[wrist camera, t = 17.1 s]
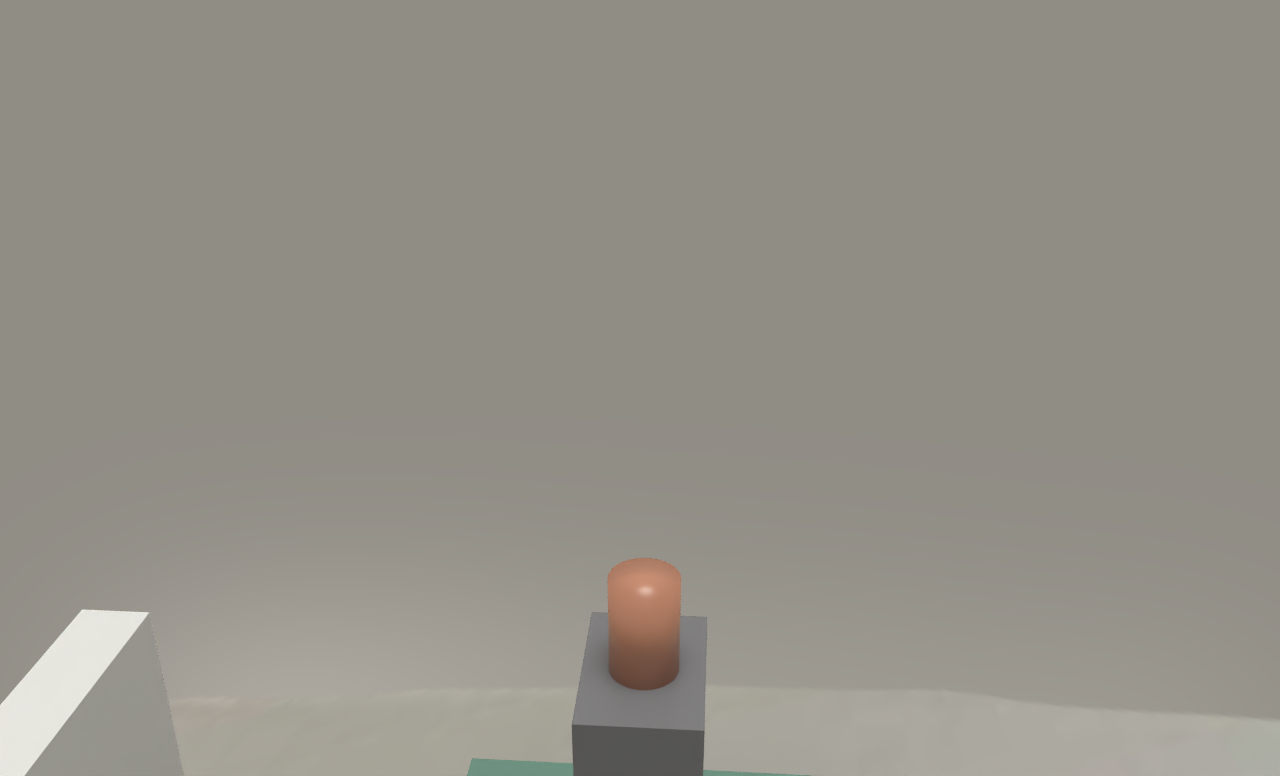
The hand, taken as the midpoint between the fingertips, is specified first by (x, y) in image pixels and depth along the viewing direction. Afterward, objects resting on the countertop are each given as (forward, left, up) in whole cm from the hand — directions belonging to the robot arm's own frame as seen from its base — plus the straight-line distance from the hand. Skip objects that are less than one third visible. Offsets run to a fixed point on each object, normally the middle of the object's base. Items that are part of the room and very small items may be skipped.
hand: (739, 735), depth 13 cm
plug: (-6, -15, -28) cm, 32 cm away
